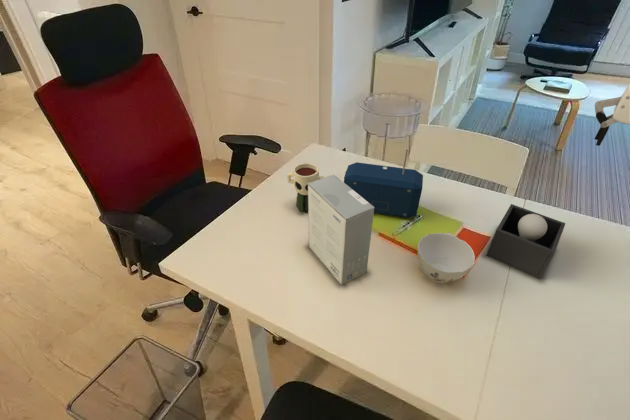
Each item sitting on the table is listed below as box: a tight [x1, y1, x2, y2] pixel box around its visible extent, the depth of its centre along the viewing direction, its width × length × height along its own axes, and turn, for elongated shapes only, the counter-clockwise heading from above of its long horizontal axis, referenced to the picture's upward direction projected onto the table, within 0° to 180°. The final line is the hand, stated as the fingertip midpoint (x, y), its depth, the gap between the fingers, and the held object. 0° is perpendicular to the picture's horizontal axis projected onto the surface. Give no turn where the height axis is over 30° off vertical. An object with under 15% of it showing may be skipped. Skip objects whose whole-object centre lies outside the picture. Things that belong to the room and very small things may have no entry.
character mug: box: [286, 162, 326, 213], centre depth 105 cm, size 11×7×13 cm, turn 78°
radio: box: [343, 149, 424, 219], centre depth 103 cm, size 21×9×20 cm, turn 76°
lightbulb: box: [518, 214, 547, 242], centre depth 90 cm, size 6×6×11 cm
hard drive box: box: [307, 174, 375, 285], centre depth 87 cm, size 16×8×20 cm, turn 32°
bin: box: [485, 203, 566, 280], centre depth 92 cm, size 13×13×9 cm
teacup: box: [416, 231, 476, 284], centre depth 87 cm, size 15×12×8 cm
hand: (624, 149), depth 78 cm, fingers open, 9 cm apart
